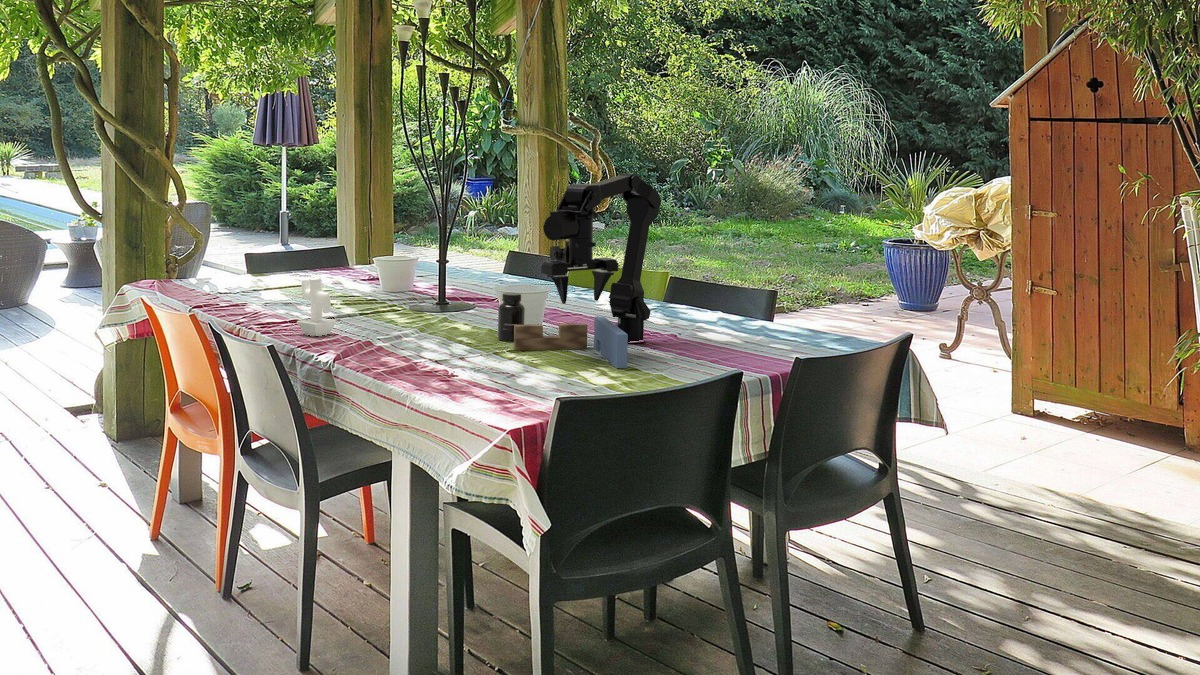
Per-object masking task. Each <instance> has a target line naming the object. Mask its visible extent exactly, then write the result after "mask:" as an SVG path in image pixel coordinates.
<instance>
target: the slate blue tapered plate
mask: <svg viewBox="0 0 1200 675" xmlns="http://www.w3.org/2000/svg"><path fill="white" fill-rule="evenodd" d="M593 319H594V322H593V323H594V324H593V327H594V329H593V330H594V331H593V349H594V350H595V349H596V350H597V351H600V352H599V353H600V355H601V356H602V357H603V358H604V359H605V360H606V359H607V360H608V361H609V362H610V363H609V362H608V361H607V360H606V361H607V362H608V363H609V364H611V366H613V367H614V366H615V367H616V368H627V369H628V346H629V344H628V334H626V333H625V332H624V331H622V330H621V329H620V328H618V327H617V326H616V325H615V323H613V322H612V321H610V320H609V319H608V318H606V317H605V316H594V318H593ZM596 350H595V351H596ZM615 367H614V368H615ZM616 368H615V369H616Z"/></svg>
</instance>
